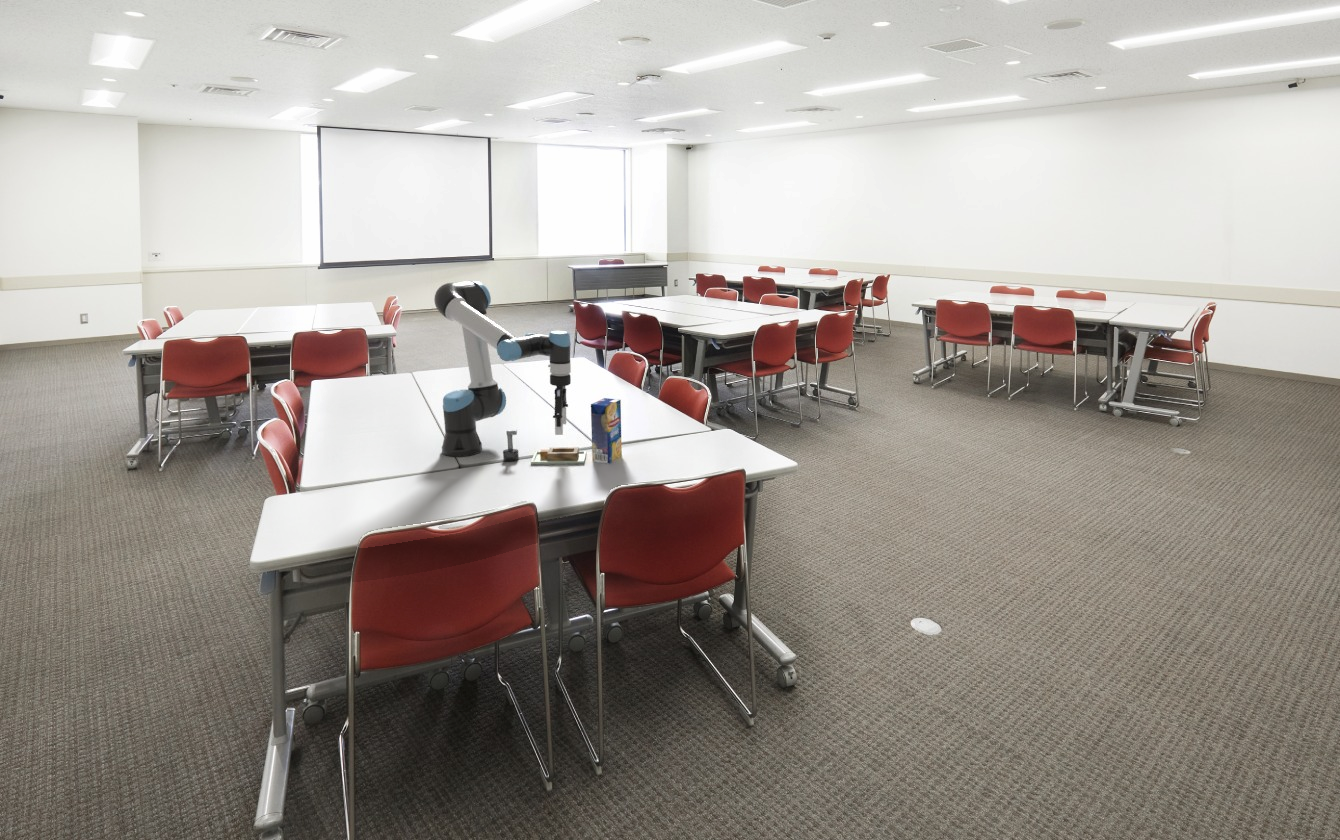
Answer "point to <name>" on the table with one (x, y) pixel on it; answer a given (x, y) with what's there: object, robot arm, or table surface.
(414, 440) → the table surface
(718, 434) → the table surface
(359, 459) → the table surface
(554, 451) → the wooden rectangular frame
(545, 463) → the tray
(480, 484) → the table surface
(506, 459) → the gray post stand
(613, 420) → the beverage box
